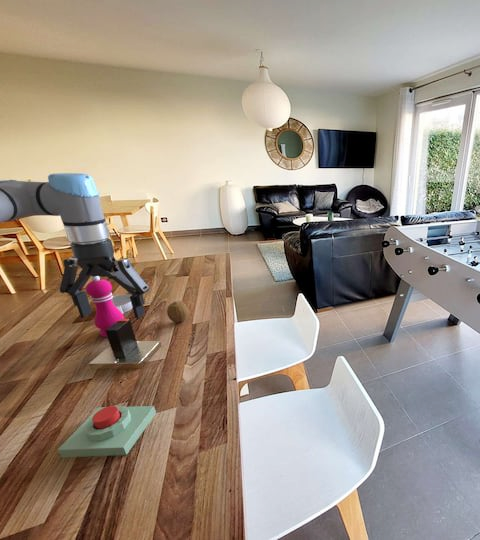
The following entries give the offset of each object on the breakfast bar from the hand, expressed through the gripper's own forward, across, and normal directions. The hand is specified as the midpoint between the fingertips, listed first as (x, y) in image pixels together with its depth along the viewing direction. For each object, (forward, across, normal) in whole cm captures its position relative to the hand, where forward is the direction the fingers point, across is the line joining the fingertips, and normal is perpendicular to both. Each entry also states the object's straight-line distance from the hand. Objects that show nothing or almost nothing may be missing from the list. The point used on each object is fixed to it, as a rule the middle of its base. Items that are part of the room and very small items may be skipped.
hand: (113, 315), depth 78 cm
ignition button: (+10, -13, +25) cm, 30 cm away
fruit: (+14, -6, -19) cm, 24 cm away
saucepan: (+14, +18, -25) cm, 34 cm away
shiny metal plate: (+14, 0, 0) cm, 14 cm away
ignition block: (+14, -14, +25) cm, 32 cm away
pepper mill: (+14, +12, -13) cm, 23 cm away
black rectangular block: (+12, 0, 0) cm, 12 cm away
